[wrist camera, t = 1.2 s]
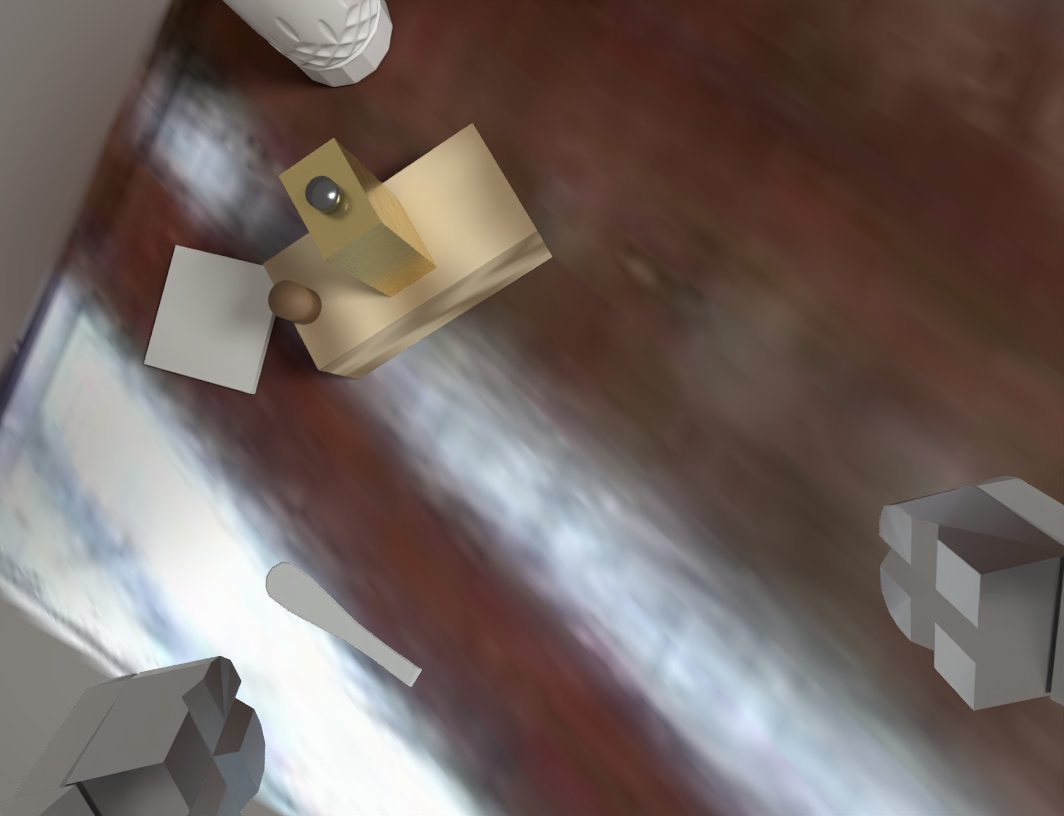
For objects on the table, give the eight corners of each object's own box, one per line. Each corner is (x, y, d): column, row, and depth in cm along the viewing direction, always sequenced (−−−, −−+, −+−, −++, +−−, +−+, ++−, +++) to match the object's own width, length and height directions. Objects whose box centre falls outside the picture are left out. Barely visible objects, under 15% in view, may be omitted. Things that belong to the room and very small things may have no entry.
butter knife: (280, 550, 43) (257, 590, 43) (614, 789, 39) (586, 833, 39) (284, 549, 44) (261, 589, 44) (614, 785, 39) (587, 829, 39)
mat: (180, 246, 46) (175, 245, 46) (287, 272, 44) (283, 270, 44) (148, 364, 46) (143, 363, 45) (254, 394, 44) (251, 393, 44)
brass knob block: (398, 198, 38) (325, 129, 30) (437, 267, 37) (373, 216, 29) (353, 228, 38) (268, 168, 30) (391, 297, 38) (315, 254, 29)
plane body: (494, 161, 42) (461, 104, 35) (552, 256, 41) (529, 218, 34) (307, 284, 44) (241, 253, 37) (357, 379, 43) (299, 365, 36)
